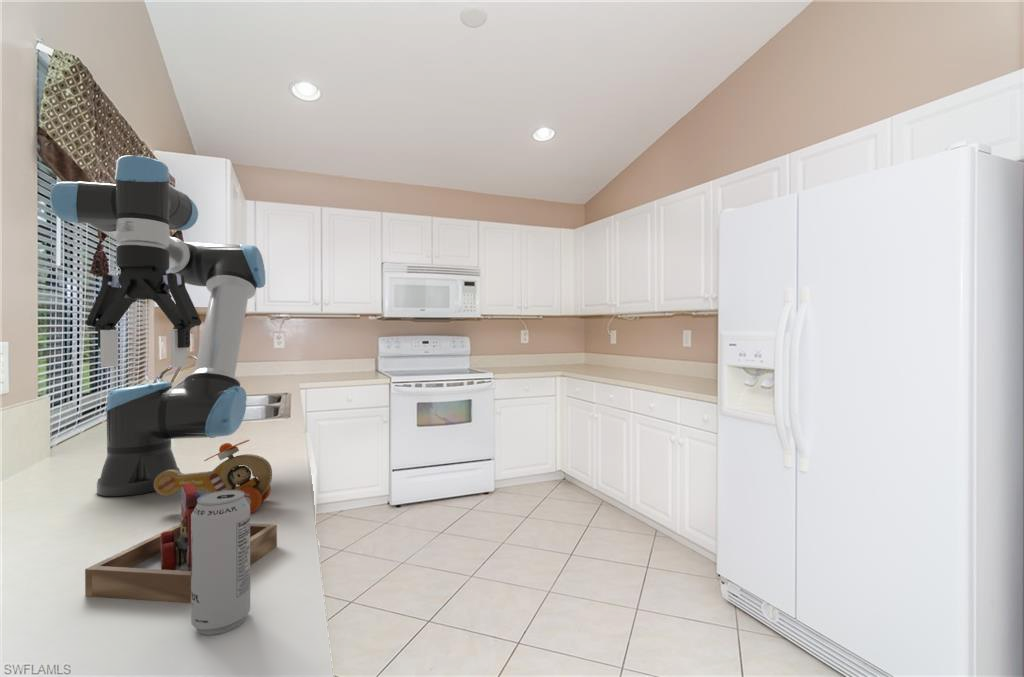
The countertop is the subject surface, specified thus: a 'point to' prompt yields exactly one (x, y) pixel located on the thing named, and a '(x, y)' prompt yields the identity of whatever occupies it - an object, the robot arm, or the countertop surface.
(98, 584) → the brown wooden tray
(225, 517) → the energy drink can
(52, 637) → the countertop surface
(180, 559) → the toy fire truck
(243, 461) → the toy helicopter
